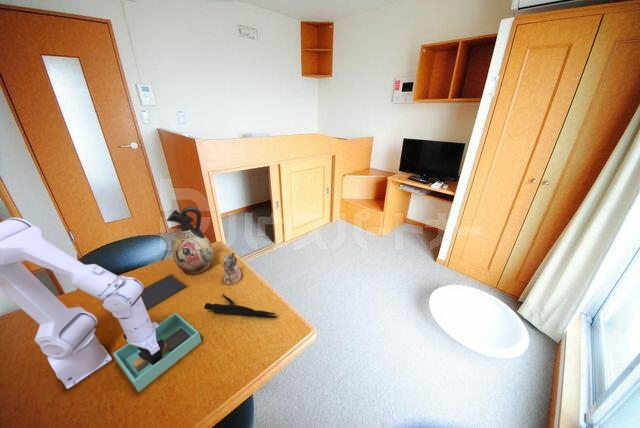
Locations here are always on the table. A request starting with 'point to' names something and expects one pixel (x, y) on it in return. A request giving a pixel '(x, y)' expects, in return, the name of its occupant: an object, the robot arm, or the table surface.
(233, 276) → the figurine
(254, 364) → the table surface
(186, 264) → the ceramic jug
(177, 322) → the bin
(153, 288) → the tray
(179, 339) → the spatula
